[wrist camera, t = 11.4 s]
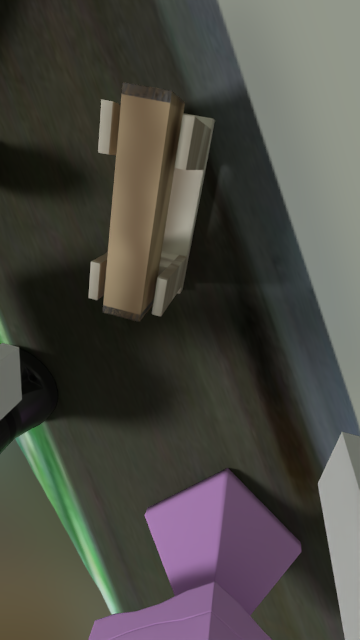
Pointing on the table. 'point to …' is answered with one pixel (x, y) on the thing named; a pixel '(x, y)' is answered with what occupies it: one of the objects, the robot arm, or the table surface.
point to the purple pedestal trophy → (209, 565)
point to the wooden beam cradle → (181, 203)
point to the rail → (140, 197)
